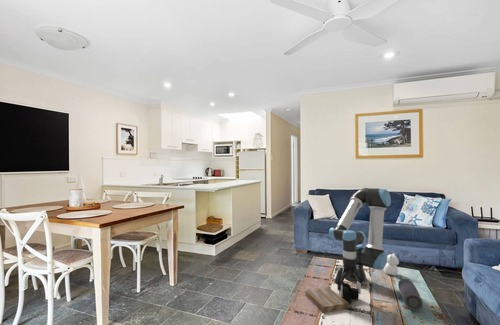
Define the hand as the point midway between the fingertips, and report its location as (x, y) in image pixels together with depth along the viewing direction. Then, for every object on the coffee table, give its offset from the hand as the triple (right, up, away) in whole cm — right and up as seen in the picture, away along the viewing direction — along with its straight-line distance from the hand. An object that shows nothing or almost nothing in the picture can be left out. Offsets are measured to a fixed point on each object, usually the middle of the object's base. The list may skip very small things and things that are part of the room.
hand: (349, 294), depth 150 cm
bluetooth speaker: (+33, -3, -3) cm, 34 cm away
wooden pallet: (-15, -3, -2) cm, 15 cm away
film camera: (0, -3, +1) cm, 3 cm away
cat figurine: (+45, -5, +38) cm, 59 cm away
